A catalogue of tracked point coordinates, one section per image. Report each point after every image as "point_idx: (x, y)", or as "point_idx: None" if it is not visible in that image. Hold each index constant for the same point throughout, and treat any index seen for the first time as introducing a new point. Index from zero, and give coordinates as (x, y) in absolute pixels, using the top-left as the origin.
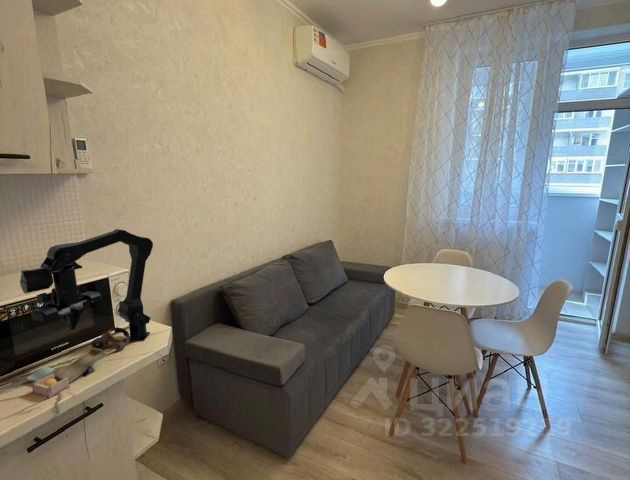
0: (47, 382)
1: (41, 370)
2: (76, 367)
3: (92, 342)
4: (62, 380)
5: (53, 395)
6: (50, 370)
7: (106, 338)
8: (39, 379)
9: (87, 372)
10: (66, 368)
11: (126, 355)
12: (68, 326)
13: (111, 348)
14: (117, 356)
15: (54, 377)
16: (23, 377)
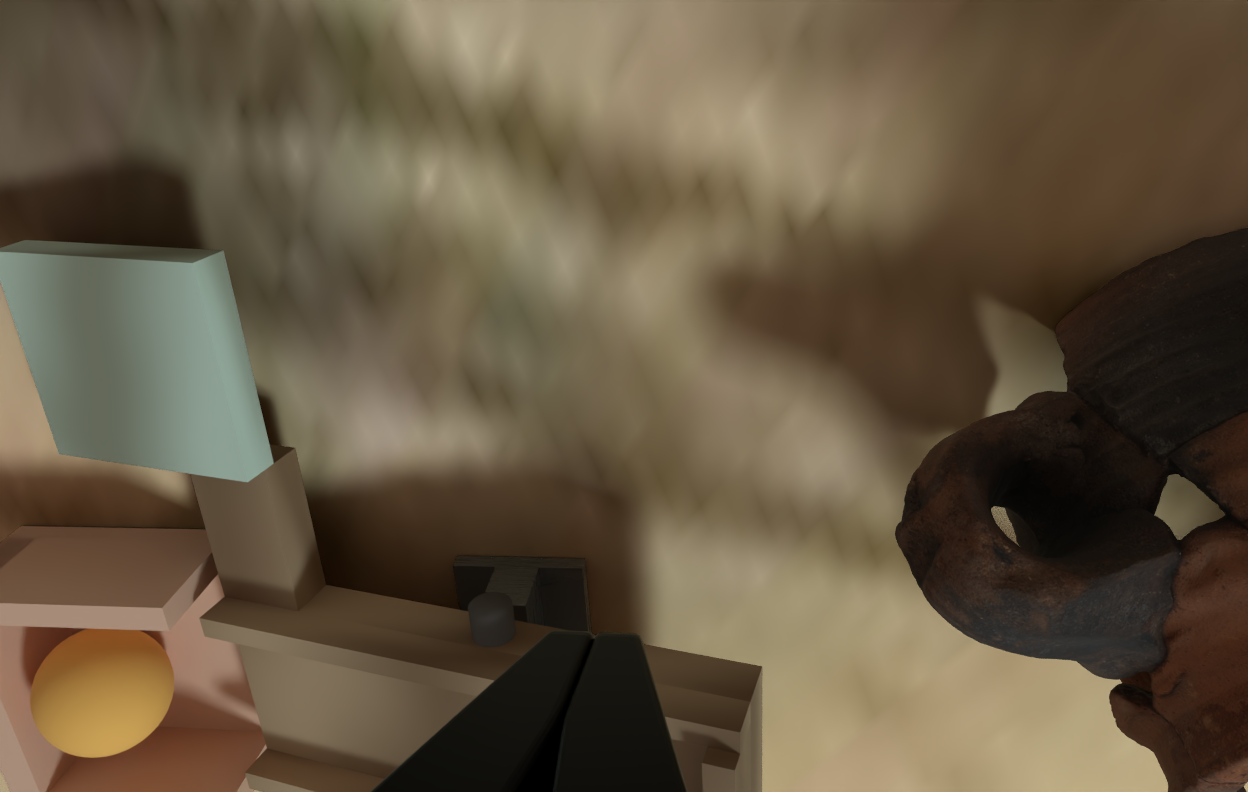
0: (45, 734)
1: (139, 318)
2: (414, 710)
3: (938, 544)
4: None
5: None
6: (205, 455)
7: (1151, 678)
8: (80, 453)
9: None
10: (313, 659)
11: (1040, 785)
12: (472, 732)
13: None
14: (983, 708)
15: (195, 596)
16: (41, 18)
